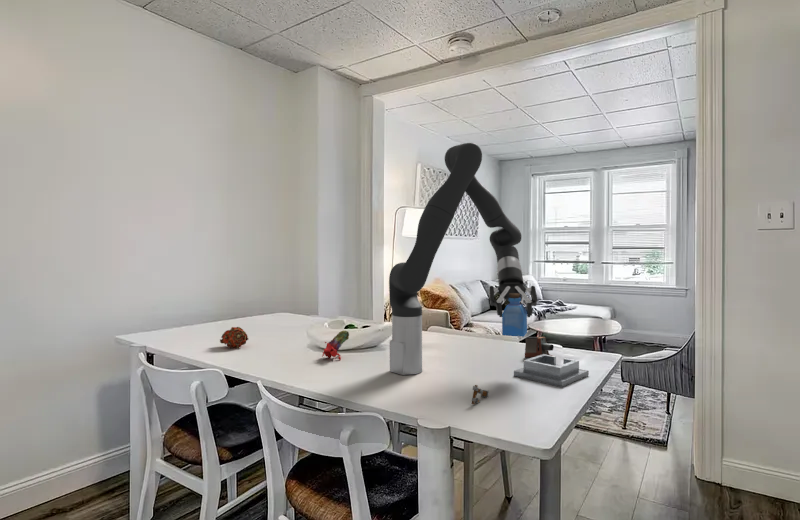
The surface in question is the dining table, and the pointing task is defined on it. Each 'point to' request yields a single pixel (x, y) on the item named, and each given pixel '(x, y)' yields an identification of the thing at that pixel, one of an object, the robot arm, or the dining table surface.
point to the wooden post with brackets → (483, 393)
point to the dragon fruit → (234, 337)
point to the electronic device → (537, 347)
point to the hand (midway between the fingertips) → (515, 315)
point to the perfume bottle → (514, 317)
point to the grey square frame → (551, 370)
